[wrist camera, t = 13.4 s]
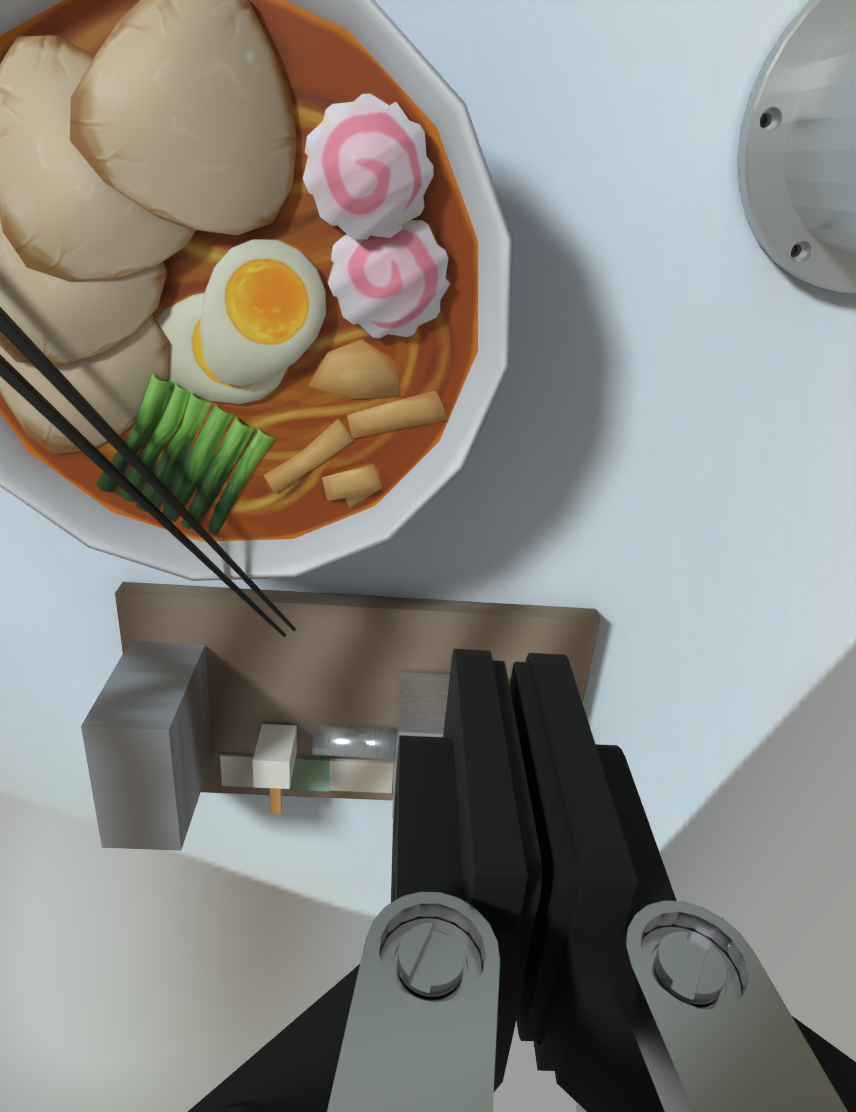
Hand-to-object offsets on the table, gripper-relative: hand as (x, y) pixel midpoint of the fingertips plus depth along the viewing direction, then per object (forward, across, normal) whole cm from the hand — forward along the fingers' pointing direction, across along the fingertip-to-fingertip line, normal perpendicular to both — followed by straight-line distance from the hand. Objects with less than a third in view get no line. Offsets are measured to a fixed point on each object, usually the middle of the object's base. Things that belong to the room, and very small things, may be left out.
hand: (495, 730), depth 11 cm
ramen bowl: (+27, +9, -2) cm, 29 cm away
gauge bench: (+27, +3, +21) cm, 34 cm away
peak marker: (+26, +8, +25) cm, 36 cm away
